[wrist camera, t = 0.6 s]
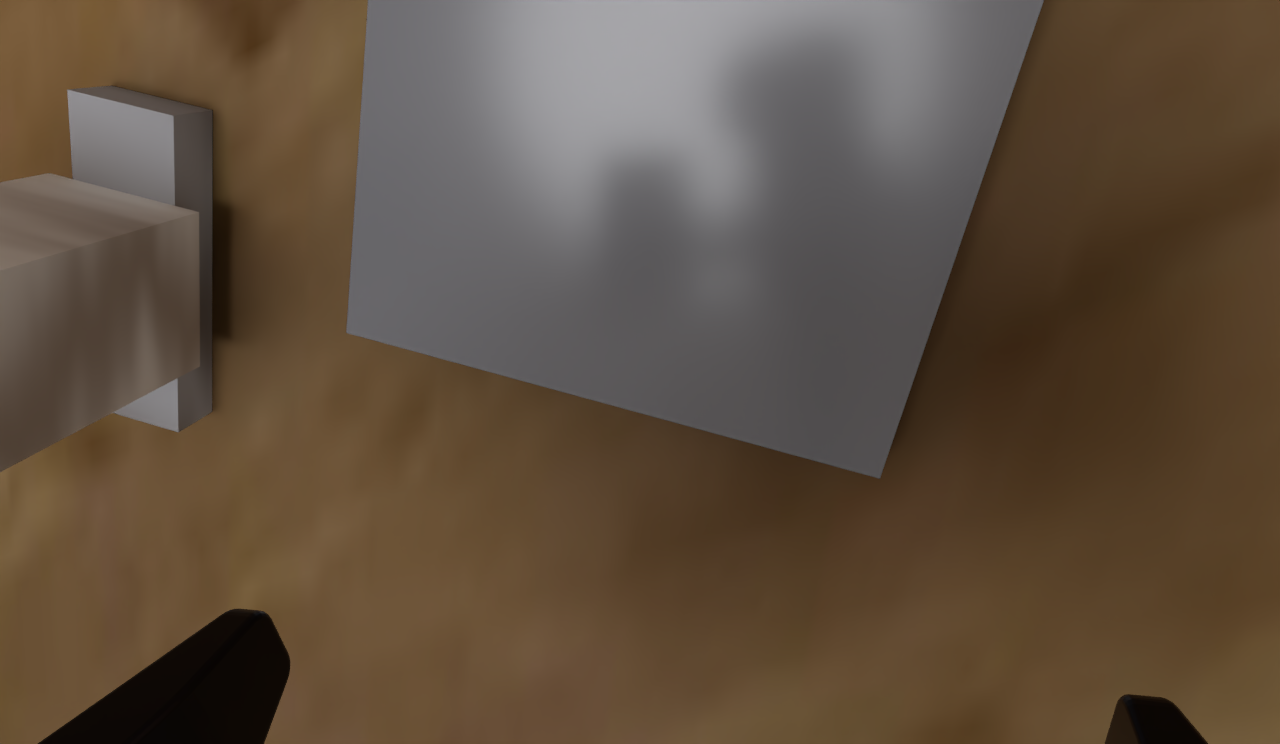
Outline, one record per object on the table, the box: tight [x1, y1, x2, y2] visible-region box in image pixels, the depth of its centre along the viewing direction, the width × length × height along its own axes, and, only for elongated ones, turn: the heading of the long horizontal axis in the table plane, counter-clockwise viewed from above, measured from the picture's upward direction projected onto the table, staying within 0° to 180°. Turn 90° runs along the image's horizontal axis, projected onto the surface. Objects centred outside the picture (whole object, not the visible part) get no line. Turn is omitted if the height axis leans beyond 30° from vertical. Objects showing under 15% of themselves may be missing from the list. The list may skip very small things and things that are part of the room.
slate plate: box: [346, 0, 1044, 479], centre depth 21 cm, size 14×14×2 cm
